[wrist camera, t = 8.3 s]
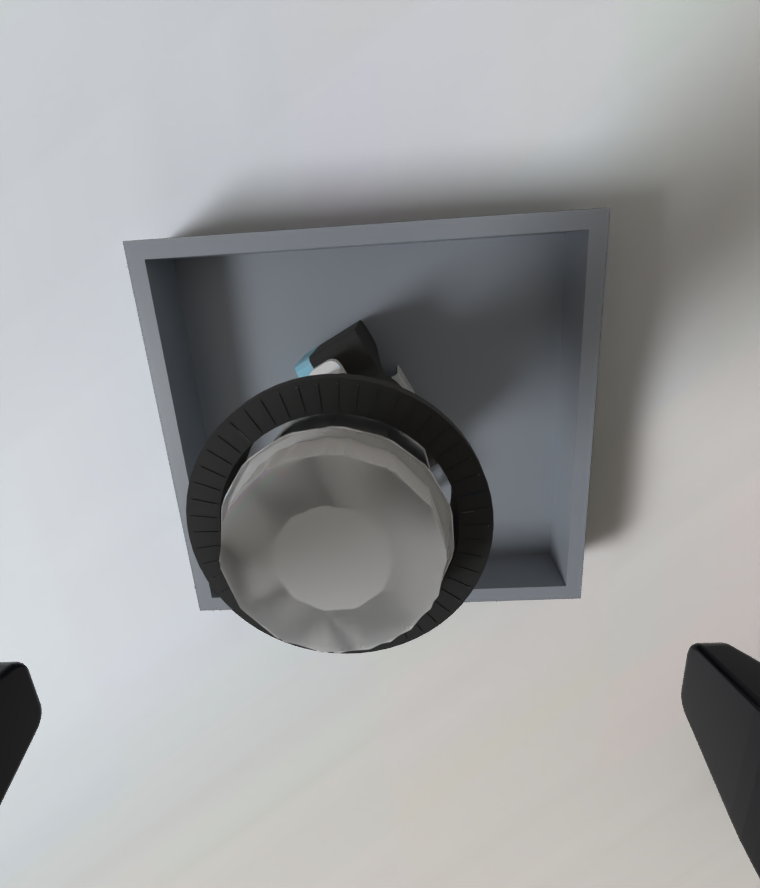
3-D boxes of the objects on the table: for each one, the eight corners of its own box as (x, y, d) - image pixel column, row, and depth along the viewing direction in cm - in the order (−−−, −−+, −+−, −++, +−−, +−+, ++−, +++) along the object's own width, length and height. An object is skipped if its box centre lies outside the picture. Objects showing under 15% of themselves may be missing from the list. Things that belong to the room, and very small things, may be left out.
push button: (494, 456, 18) (597, 670, 9) (363, 526, 19) (330, 784, 10) (394, 284, 16) (390, 319, 7) (256, 371, 17) (90, 505, 8)
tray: (578, 214, 16) (610, 207, 14) (558, 558, 20) (580, 598, 18) (162, 243, 17) (122, 241, 14) (222, 570, 21) (199, 610, 18)
